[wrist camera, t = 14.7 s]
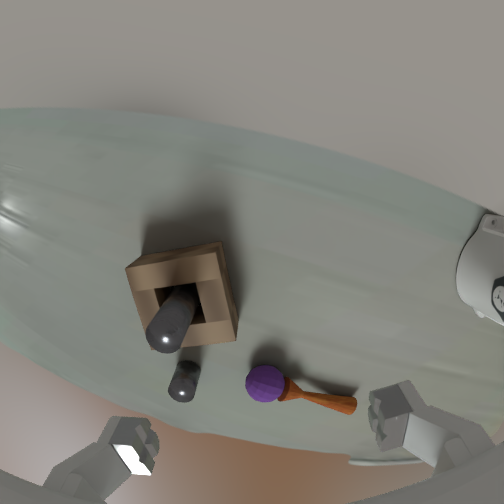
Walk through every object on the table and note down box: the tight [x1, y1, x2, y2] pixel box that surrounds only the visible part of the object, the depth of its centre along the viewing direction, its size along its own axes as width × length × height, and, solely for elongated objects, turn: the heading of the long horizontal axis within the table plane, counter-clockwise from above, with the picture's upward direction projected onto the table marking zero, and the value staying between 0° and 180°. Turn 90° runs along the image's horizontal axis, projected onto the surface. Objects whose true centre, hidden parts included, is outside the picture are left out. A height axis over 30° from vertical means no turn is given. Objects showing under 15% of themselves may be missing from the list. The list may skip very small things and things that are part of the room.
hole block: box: [125, 241, 239, 350], centre depth 41 cm, size 12×12×6 cm
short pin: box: [168, 360, 200, 402], centre depth 45 cm, size 4×4×6 cm
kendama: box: [245, 365, 357, 415], centre depth 46 cm, size 6×6×20 cm
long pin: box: [146, 282, 200, 353], centre depth 37 cm, size 4×4×14 cm
